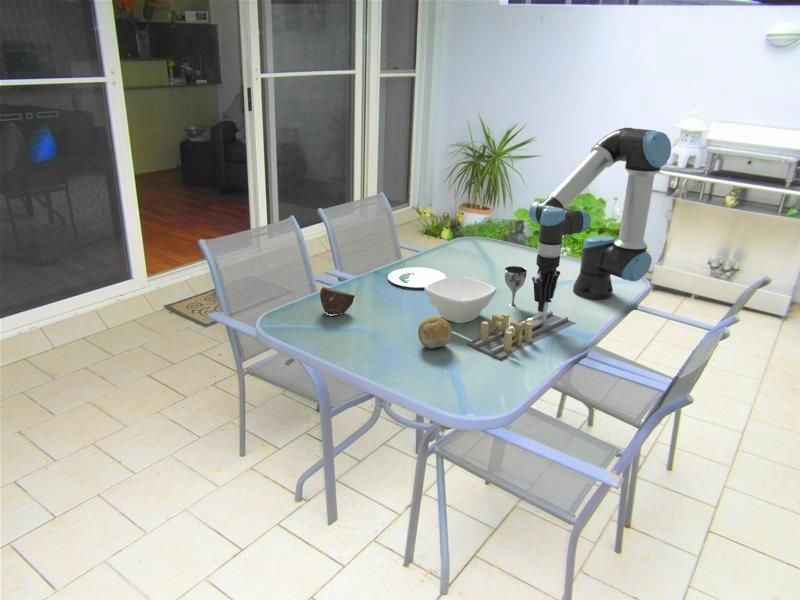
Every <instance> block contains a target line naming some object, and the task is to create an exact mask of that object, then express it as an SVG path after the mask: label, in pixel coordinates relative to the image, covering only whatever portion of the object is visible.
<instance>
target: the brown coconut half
mask: <svg viewBox="0 0 800 600" xmlns="http://www.w3.org/2000/svg"><path fill="white" fill-rule="evenodd" d="M319 298H320V303H321V306H322V308H323V311H325V312H327V313H328V314H332V315H333V314H340V313H342V314H344V313H346V312H347V311H348V309H349V308H350V307H351V306H352V305H353V303H354V299H355V295H354V294H352V293H349V292H347V291H345V292H343V291H341V290H338V289H337V290H336V289H334V288H329V287H325V286H323V287H321V289H320V293H319ZM325 312H324V313H325ZM340 315H341V314H340Z"/></svg>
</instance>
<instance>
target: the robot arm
mask: <svg viewBox="0 0 800 600" xmlns="http://www.w3.org/2000/svg"><path fill="white" fill-rule="evenodd" d="M671 154H672V143H671V140H670V138H669V136H668V135H667V134H666V133H664V132H663V131H657V130H656V129H655V130H654V129H644V128H633V127H622V128H619V129H616V130H614V131H612V132H610V133H609V134H606V135H605V136H604V137H602V138H601V139H599V141H597V142H596V143H595V144H594V145H593V146H592V147H591V149H590V153H589V154H588V155H587V156H586V158H585V159H584V160H583V161H582V162H580V164H578V166H577V167H575V169H574V170H572V172H571V173H570V174H569V175H568V176H567V177H566V178H565V179H564V180H563V181H562V182H561V183H560V184H559V185H558V186H557V187H555V189H554V190H553V191H552V192H551V194H549V195H548V196H547V198H546V199H544V201H540V200H538V201H534V202H533V203H531V205H530V207H529V209H528V218H529V219H530V220H531V221H532V222H534V223H536V224H538V225H539V233H538V243H537V245H538V246H537V255H536V265H537V267H538V269H537V275H535V276H533V277H531V280H532V283H533V296H534V297H533V299H534V302H537V304H538V306H537V314H538V315H542V316H543V317H544V318H545V320H546V316H547V313H548V307H549V303H552V301H553V298H554V295H555V291H556V287H557V283H558V280H559V277H560V275H561V271H559V270H557V268H559V267H560V260H561V256H560V255H561V254H562V247H563V245H562V244H563V236H567V235H568V236H569V235H574V234H581V233H584V232H586V231H588V230H589V229H590V227H591V224H592V217H591V215H590V213H589V212H588V211H587V210H584V209H576V210H572V209H569V206H570V205H572V203H573V202H574V201H575V200H576V199H577V198H578V197H579V196H580V195H581V194H582V193H583V192H584V191H585V190H586V189H587V188H588V187H589V186H590V184H591V183H592V182H594V181H595V180H596V179H597V177H598V176H599V175H601V173H602V172H603V171H604V170H605V169H606V168H610V167H612V166H613V165H614V164H615V163H617V162H625V167H624V169H625V170H626V172H627V173H628V176H627V183H626V188H625V189H626V190H625V195H624V196H625V197H624V201H623V208H622V213H621V214H622V215H621V220H620V227H619V235H618V238H617V239H616V237H614V236H610V235H609V236H606V235H594V236H593V235H592V236H588V237H587V238H585V239H584V241H583V246H582V253H581V259H580V260H581V262H580V270H579V273H578V276H577V277H576V280H575V282H574V284H573V290H572V291H573V293H574V294H575V295H577V296H578V297H581V298H584V299H589V300H606V299H607V300H608V299H609V298H611V297H612V296H613V290H614V289H613V285H612V279H611V276H614V277H617V278H620V279H622V280H623V281H629V282H637V281H639V280H641V279H642V278H644V277H645V275H647V273H648V271H649V270H650V267H651V266H652V255H651V254H649V252H647V247H648V245H647V244H646V242H645V241H644V240H645V234H646V227H647V222H648V216H649V209H650V205H651V198H652V192H653V188H654V187H653V185H654V180H655V176H656V175H657V174H658V173H659V172H660V171H661V168H662V167H664V166H665V165H667V163H668V161H669V160H670V157H671Z"/></svg>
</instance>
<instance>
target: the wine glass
mask: <svg viewBox="0 0 800 600" xmlns="http://www.w3.org/2000/svg"><path fill="white" fill-rule="evenodd" d="M527 272H528V269H527V268H525V267H523V266H519V265H511V266H507V267H505V268H504V282H505V284H506V286H507V287H508V289H509V290H510V292H511V299H512V300H511V303H510V304H509V306H510V307H516V306H517V305H516V304H515V297H516V293H517V292H518V291H519V290H520V289H521V288H522V287H523V286H524V285H525V283H526V278H527Z"/></svg>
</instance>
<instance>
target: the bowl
mask: <svg viewBox="0 0 800 600" xmlns="http://www.w3.org/2000/svg"><path fill="white" fill-rule="evenodd" d="M423 289H424V292H425V294H426V295H427V297H428V300H429V301H430V304H431V305H433V306H434V307H435V308H436V311H437V312H438V314H439V316H440V317H441V318H443V319H445V320H446V321H450V322H453V323H457V324H465V323H468V322H472V321H474V320H476V319H477V318H478V317H479V316H480V314H481V313H482V311H483V309H485V308H487V307H488V306H489V304H490V303H491V301H492V299H493V298H494V296H495V294H496V293H497V288H496V287H494V286H493V285H491V284H490V283H489V284H488V283H486V282H483V281H481V280H477V279H474V278H469V277H467V276H466V277H465V276H460V275H456V276H449V277H447V278H444V279H441V280H438V281H435V282H433V283H431V284H429V285H427V286H426V287H425V288H423Z"/></svg>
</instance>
